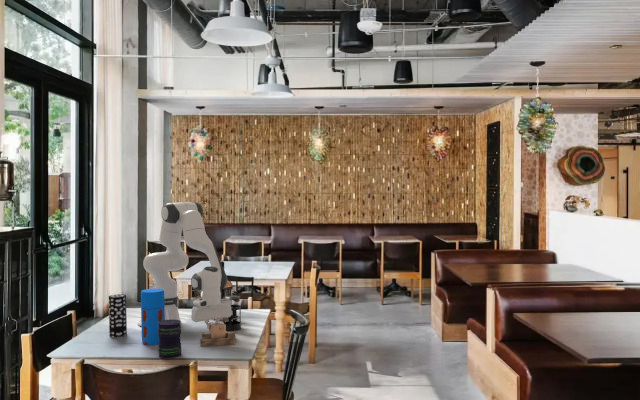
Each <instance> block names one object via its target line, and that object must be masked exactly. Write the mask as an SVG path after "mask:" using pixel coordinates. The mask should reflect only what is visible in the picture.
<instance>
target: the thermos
mask: <svg viewBox="0 0 640 400" xmlns="http://www.w3.org/2000/svg"><path fill="white" fill-rule="evenodd" d="M140 311H141V312H140V313H141V314H140V316H141V319H140V320H141V326H140V328H141V344H143V345H145V346H156V345H159V335H158V326H159V325H158V322H160V321H163V320H165V302H164V290H163V289H156V288H146V289H142V290H141V291H140Z"/></svg>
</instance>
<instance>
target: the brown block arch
mask: <svg viewBox="0 0 640 400" xmlns="http://www.w3.org/2000/svg"><path fill="white" fill-rule="evenodd" d="M235 345H236V331H226V338H213V339H211V332H202V333H201V339H199V347H213V346H214V347H215V346H235Z"/></svg>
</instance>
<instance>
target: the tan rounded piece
mask: <svg viewBox="0 0 640 400" xmlns="http://www.w3.org/2000/svg"><path fill="white" fill-rule="evenodd" d="M208 323H209V325H211V329H208V332H209V333H211V339H213V338H226V332H227V331H226V324H224V322H223V323H222V322H218V323H216V324H215V322H212V321H211V322H210V321H209V322H208Z"/></svg>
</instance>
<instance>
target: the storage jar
mask: <svg viewBox="0 0 640 400" xmlns="http://www.w3.org/2000/svg"><path fill="white" fill-rule="evenodd" d="M180 320H181V319H180ZM180 320H163V321H160V322H158V325H159V326H158V335H159V344H158V348H157V349H158V358H159V359H165V360H167V359H168V360H170V359H176V358H179V357H181V356H182V342H181V334H182V327H181V326H182V325H181V324H182V323H181V322H182V321H180Z"/></svg>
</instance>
